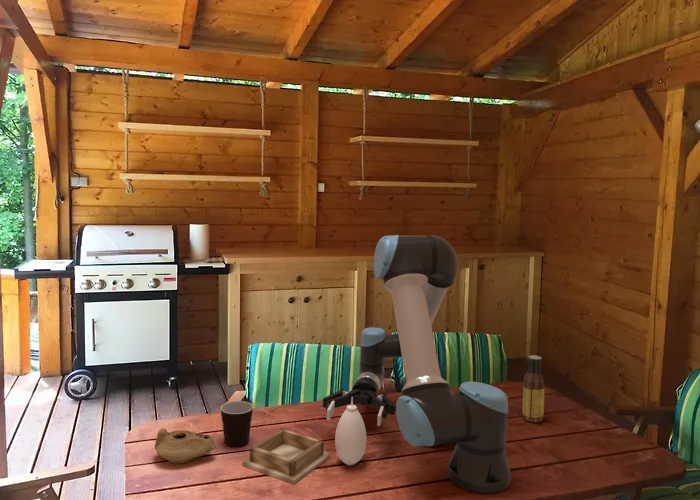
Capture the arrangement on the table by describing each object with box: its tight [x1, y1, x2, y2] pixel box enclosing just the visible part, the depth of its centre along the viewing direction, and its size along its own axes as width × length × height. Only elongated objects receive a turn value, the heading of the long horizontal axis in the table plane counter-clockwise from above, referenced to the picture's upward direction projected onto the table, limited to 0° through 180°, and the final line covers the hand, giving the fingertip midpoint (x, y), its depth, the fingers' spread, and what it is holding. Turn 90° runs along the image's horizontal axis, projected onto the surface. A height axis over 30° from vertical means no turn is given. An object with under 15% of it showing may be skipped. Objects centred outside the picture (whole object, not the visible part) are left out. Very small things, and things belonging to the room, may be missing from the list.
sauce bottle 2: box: [334, 397, 367, 466], centre depth 146 cm, size 8×8×18 cm
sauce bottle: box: [521, 354, 546, 424], centre depth 176 cm, size 7×6×20 cm
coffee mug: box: [220, 400, 254, 449], centre depth 157 cm, size 12×9×10 cm
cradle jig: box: [242, 428, 331, 485], centre depth 147 cm, size 16×16×4 cm
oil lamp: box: [154, 427, 217, 464], centre depth 147 cm, size 11×15×8 cm
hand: (353, 418), depth 151 cm, fingers open, 13 cm apart
